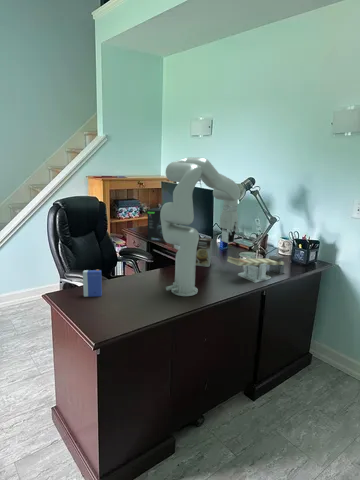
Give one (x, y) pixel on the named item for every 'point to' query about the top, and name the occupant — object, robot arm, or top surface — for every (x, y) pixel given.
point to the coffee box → (203, 252)
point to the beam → (256, 261)
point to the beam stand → (259, 272)
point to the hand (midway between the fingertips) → (227, 240)
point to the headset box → (155, 225)
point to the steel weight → (226, 236)
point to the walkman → (92, 283)
